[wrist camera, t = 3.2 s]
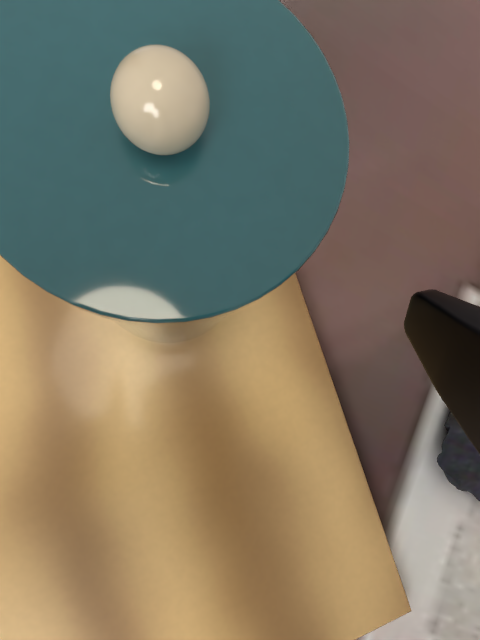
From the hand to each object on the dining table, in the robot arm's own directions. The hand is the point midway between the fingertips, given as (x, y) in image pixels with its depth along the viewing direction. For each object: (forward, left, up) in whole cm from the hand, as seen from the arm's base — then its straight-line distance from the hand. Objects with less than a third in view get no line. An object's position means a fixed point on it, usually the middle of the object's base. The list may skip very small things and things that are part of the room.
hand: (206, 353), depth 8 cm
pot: (+2, -4, -11) cm, 11 cm away
